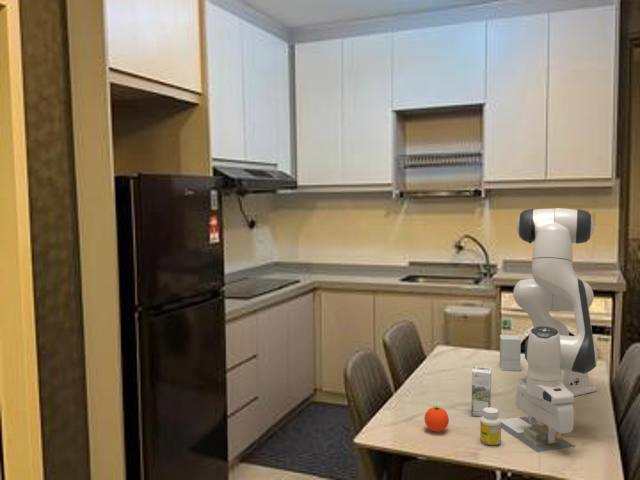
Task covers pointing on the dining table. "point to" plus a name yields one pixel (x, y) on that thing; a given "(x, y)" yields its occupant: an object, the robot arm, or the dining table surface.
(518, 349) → the supplement box
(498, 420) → the supplement bottle
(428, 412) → the clementine
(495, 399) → the dining table surface
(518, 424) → the mat
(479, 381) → the syrup box
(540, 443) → the shiny reflective rectangular block
